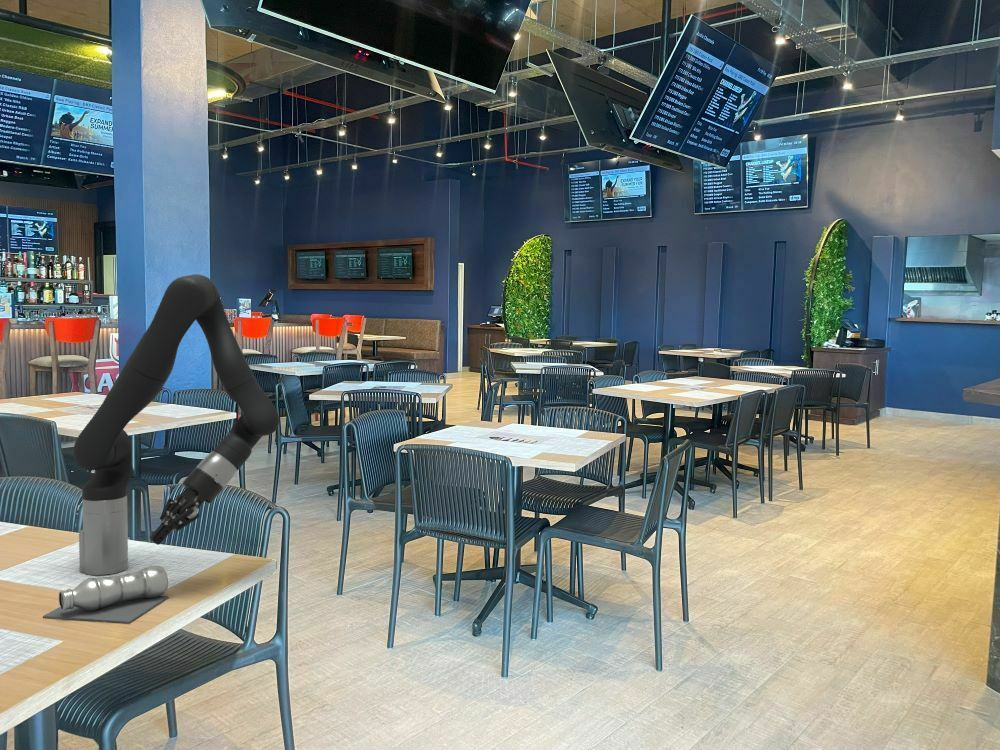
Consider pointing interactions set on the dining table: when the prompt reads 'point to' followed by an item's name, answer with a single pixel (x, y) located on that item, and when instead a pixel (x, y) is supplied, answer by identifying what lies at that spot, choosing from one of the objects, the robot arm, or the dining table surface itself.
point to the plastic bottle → (115, 589)
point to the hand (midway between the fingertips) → (153, 541)
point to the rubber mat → (110, 611)
